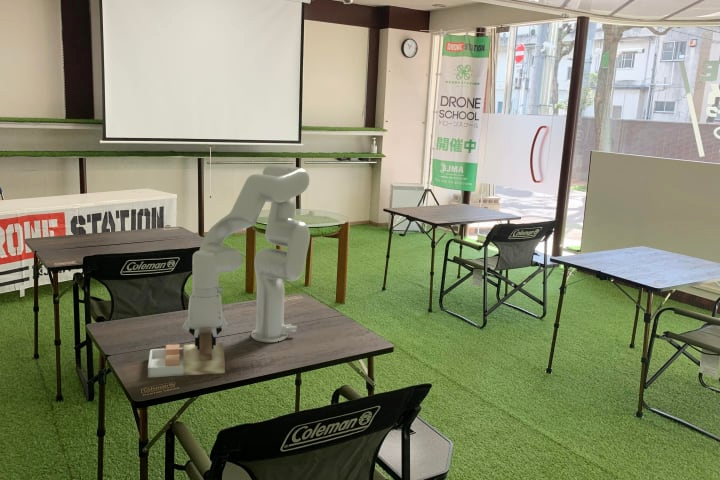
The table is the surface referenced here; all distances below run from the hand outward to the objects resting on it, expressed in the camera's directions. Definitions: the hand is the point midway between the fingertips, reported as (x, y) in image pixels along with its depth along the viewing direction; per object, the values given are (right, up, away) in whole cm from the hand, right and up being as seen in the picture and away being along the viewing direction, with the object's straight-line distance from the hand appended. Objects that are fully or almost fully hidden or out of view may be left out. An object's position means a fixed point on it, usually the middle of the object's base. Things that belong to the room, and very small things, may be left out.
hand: (205, 347), depth 193 cm
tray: (-11, -6, -2) cm, 13 cm away
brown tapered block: (0, -2, 0) cm, 2 cm away
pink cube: (-9, -2, +2) cm, 9 cm away
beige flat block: (-1, -6, +1) cm, 6 cm away
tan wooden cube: (-6, -4, -5) cm, 9 cm away
